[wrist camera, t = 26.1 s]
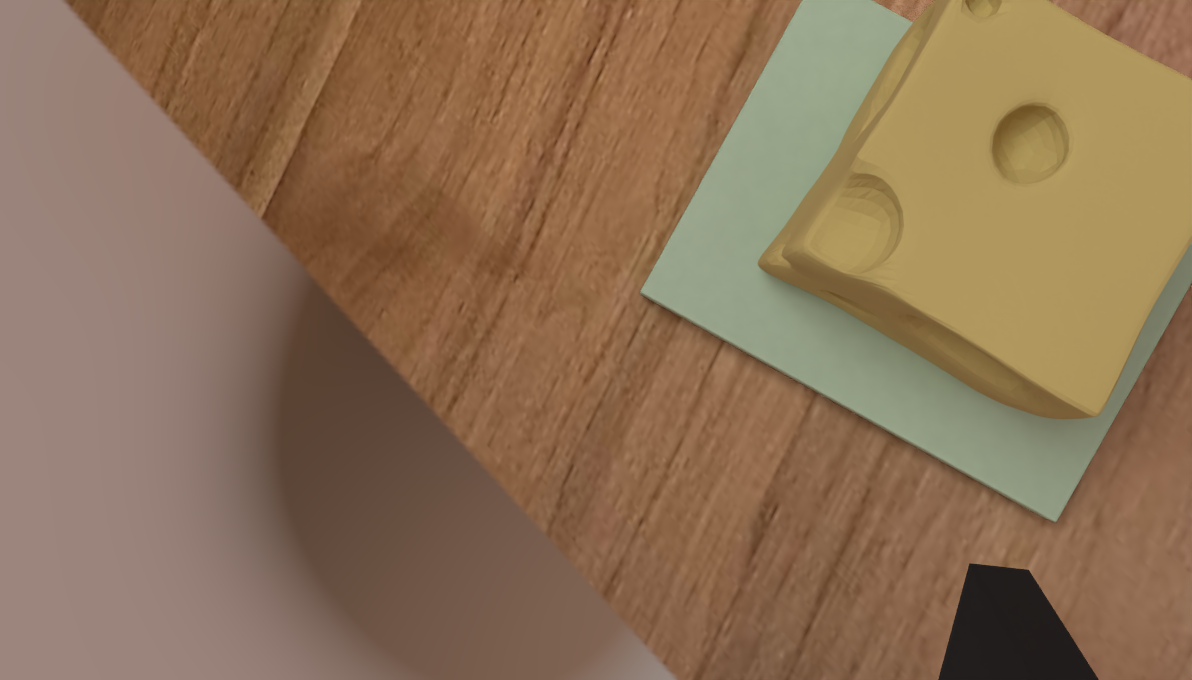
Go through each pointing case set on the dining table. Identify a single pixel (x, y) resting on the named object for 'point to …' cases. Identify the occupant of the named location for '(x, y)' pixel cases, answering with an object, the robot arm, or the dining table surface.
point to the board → (824, 331)
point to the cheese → (1005, 202)
